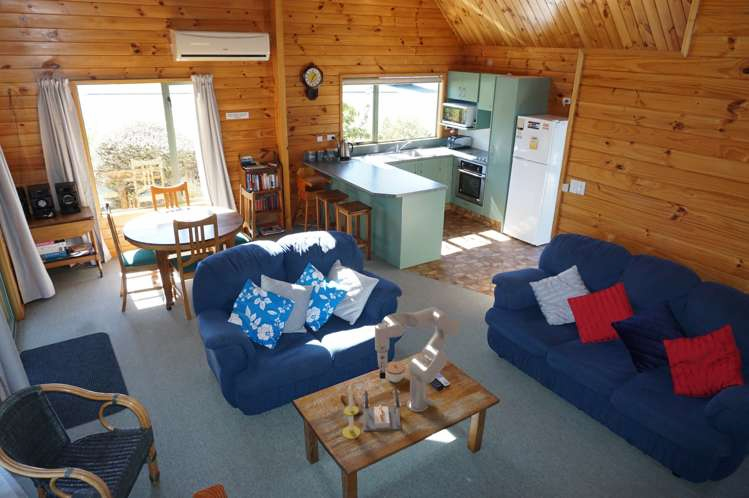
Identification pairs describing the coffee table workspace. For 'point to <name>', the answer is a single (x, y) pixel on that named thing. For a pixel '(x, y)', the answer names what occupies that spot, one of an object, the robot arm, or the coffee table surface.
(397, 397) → the dark gray rod
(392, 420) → the board
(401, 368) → the lidded bowl
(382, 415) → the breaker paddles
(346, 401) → the sunglasses case
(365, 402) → the dark grey rod
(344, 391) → the coffee table surface
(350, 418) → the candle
